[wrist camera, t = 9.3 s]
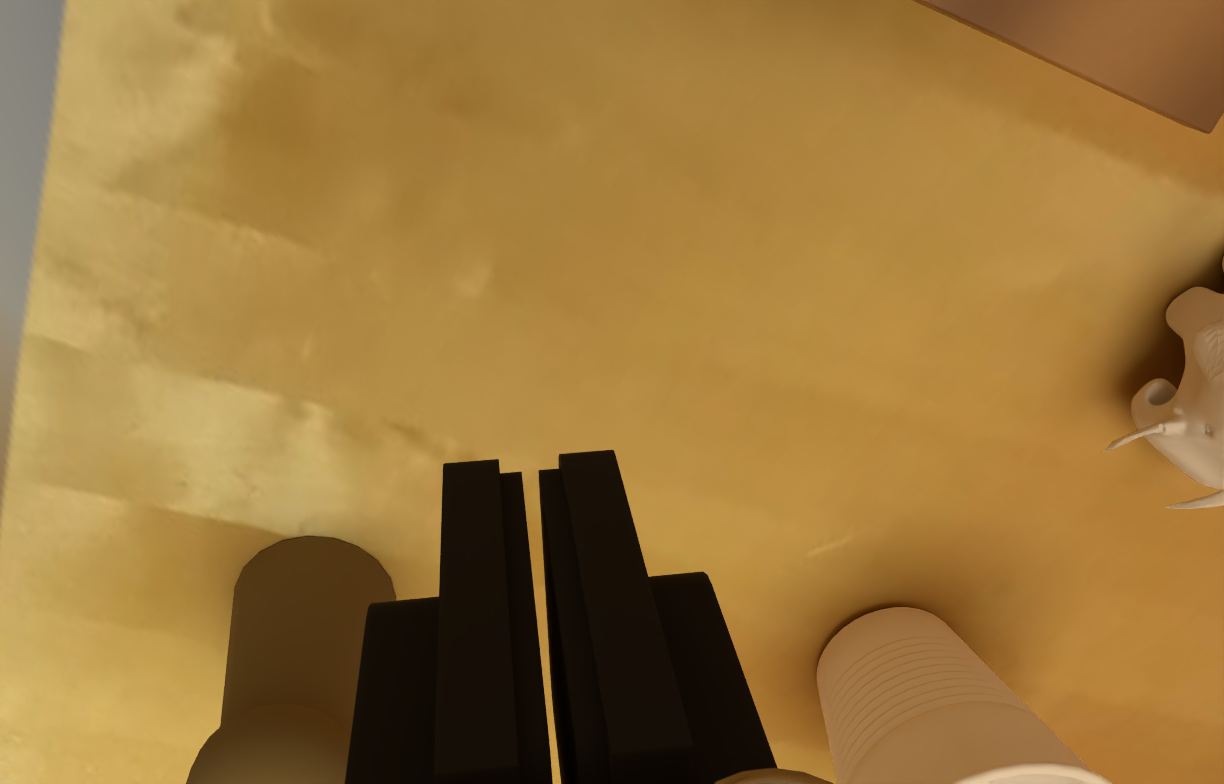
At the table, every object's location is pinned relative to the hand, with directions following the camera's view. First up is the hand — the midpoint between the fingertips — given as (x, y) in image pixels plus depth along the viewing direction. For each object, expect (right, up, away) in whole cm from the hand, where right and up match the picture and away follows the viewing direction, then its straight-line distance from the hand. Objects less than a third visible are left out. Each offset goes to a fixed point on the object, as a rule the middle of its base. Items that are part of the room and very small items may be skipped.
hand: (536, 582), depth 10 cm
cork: (-11, -6, +30) cm, 32 cm away
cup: (+12, -9, +34) cm, 38 cm away
